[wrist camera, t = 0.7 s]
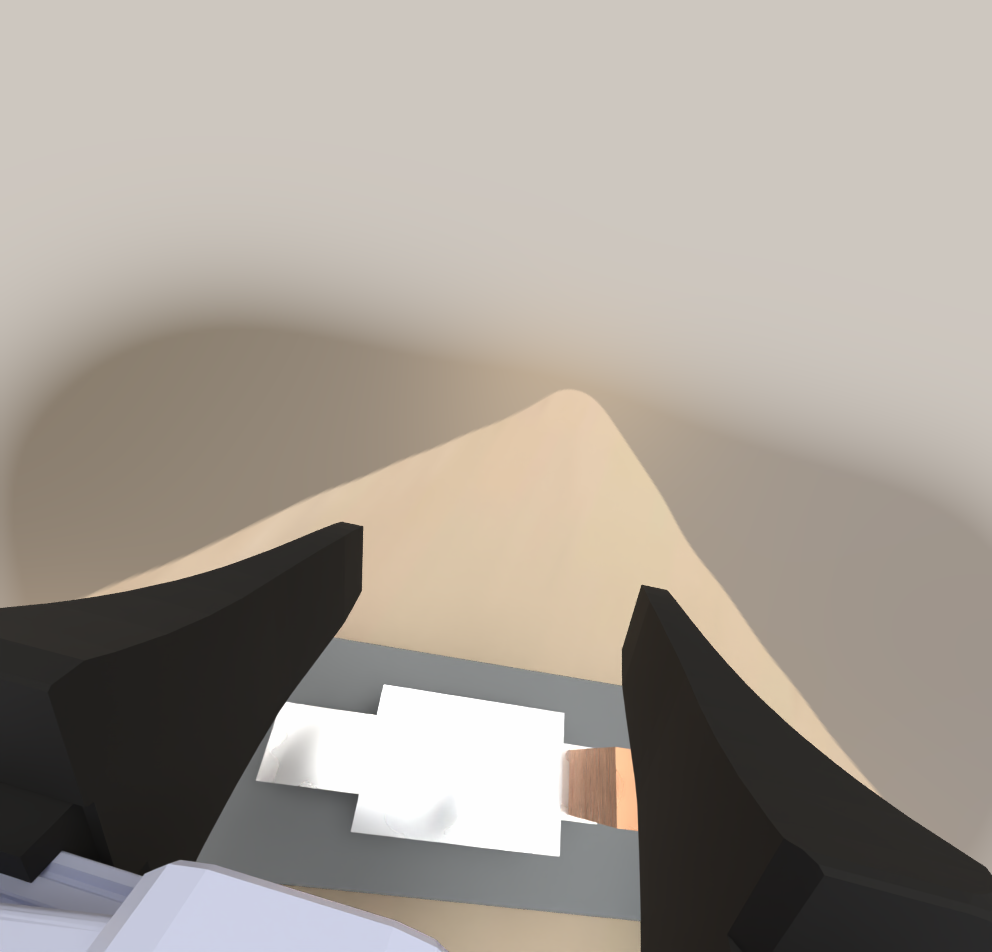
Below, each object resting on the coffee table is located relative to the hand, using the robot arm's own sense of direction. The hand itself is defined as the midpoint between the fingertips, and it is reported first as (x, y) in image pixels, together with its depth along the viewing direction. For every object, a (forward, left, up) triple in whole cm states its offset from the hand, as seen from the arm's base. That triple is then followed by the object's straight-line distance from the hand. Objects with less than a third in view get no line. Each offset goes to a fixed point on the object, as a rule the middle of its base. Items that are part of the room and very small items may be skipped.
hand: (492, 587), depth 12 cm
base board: (-4, -5, -17) cm, 18 cm away
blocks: (-4, -1, -15) cm, 15 cm away
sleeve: (-4, -2, -16) cm, 16 cm away
